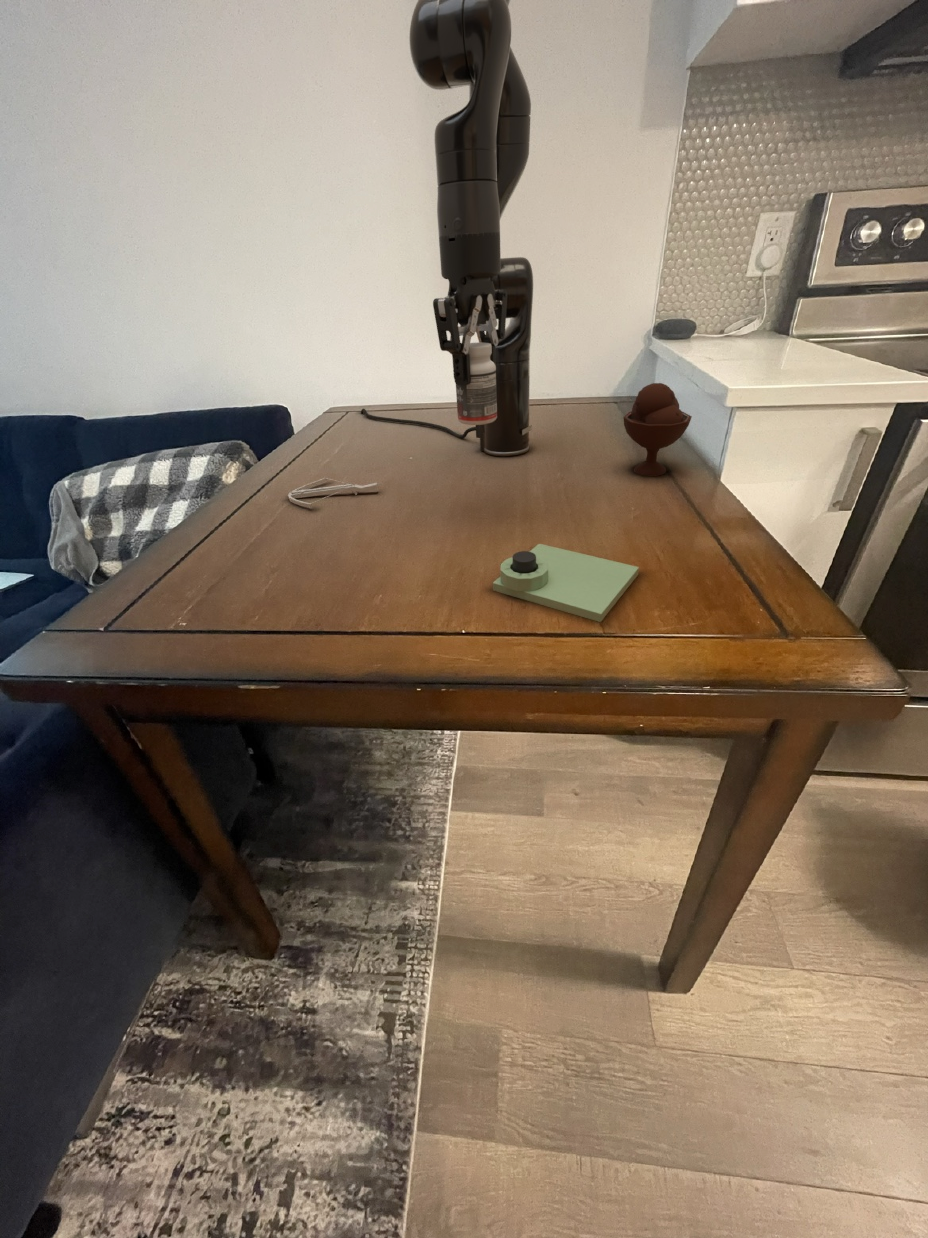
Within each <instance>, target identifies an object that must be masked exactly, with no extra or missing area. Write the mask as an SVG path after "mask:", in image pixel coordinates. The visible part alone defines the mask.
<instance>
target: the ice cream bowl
mask: <svg viewBox="0 0 928 1238" xmlns="http://www.w3.org/2000/svg"><path fill="white" fill-rule="evenodd" d="M692 417H693V416H692V415H690V414H688V413H686V412H685V411H682V409H680V404H679V400H678V398H677V397H676V394H675V392H674V390H673V389H671V388H670V386H668V385H667V384H665V383H662V382H653V383H649V384H647V385H645V386H644V387H642V389H641V390H639V391H638V393H637V396H636V398H635V399H634V403H633V404H632V407H631V411H629V412H627V413H626V414H625V415H624V416H623V426H624V429H625V433H626V434H627V435H628V436H629V438H630V439H631V440H632V441H633V442H634V443H636V444H637V445H639V446H640V447H641V448H644V449H645V450H646V457H645V458H646V459H645V460H644V461H643V462H641V463H638V464H636V466H634V469H633V472H635V474H637V475H641V476H645V477H657V476H662V475H665V473H666V472H667V469H666V467H665V466H664V465H663V464H661V463H660V462H658V461H657V458H658V453H659V451H660V450H661V449H664V448H667V447H669V446H671V445H673V444H675V443H676V442H677V441H678V440H679V439H681V438H682V436H683V435H684V433H685V432H686V430H687V429H688V427H689V426H690V424H691V423H690V422H691V420H692Z"/></svg>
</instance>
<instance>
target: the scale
mask: <svg viewBox="0 0 928 1238" xmlns="http://www.w3.org/2000/svg"><path fill="white" fill-rule="evenodd" d="M529 552H532V553H534V554H535V555H536V570H535V572H531V573H526V574H521V573H517V572H514V571H513V556H512V557H509V558H506V559H505V560H504V561H503V562H501V564H500V576H499V577H497V578H496V579H495V580H494V581H493V582H492V590H493V592H498V593H500V594H504V595H507V596H510V597H513V598H517V599H521V600H524V601H528V602H530V603H534V604H537V605H541V606H544V607H548V608H552V609H554V610H557V611H561V612H564V613H569V614H571V615H575V616H578V617H581V618H585V619H588V620H590V621H595V622H598V623H602V621H603V620H604V619H605V617H606V616H607V615H608V613H609V612H610V611H611V610H612V608H613V607H614V606H615V605H616V603H617V602H618V601H619V599H621V597H622V596H623V595H624V593H625V592H626V591H627V590H628V589H629V587H630V586H631V585H632V584H633V582H634V581H635V580H636V579H637V577H638V576H639V571H640V567H639V566H636V565H632V564H627V563H624V562H619V561H615V560H611V559H606V558H602V557H599V556H598V557H597V556H594V555H589V554H585V553H582V552H577V551H573V550H569V549H564V548H560V547H555V546H551V545H547V544H542V543H538V544H537V545H535V546H534V547H532V548H531V550H529Z"/></svg>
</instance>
